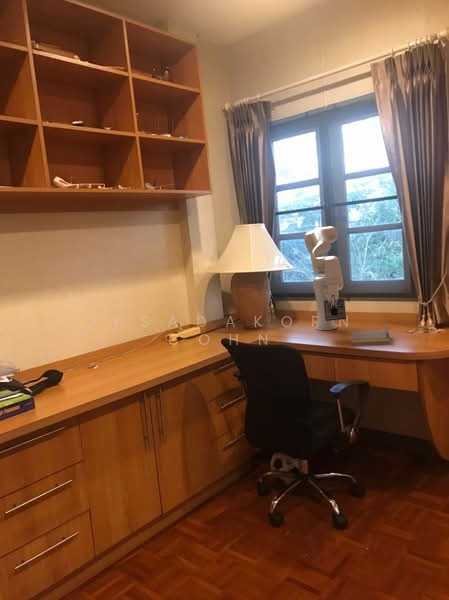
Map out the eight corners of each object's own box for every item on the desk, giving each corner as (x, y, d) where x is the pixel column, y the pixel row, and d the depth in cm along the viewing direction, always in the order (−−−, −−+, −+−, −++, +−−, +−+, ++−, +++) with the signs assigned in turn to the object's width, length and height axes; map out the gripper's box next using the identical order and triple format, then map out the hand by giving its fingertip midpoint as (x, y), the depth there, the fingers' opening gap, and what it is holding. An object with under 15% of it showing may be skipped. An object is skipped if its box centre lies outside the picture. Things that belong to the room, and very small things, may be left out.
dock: (352, 338, 256) (351, 328, 255) (388, 336, 251) (387, 326, 250) (351, 345, 241) (351, 335, 240) (389, 344, 235) (389, 333, 235)
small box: (344, 316, 261) (343, 297, 259) (346, 319, 254) (345, 300, 252) (324, 318, 262) (323, 299, 260) (326, 321, 255) (324, 301, 254)
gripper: (326, 279, 264) (329, 310, 267) (324, 284, 248) (326, 317, 250) (340, 278, 262) (342, 310, 265) (339, 283, 245) (341, 317, 248)
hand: (335, 313), depth 258 cm, fingers closed on small box, 7 cm apart
